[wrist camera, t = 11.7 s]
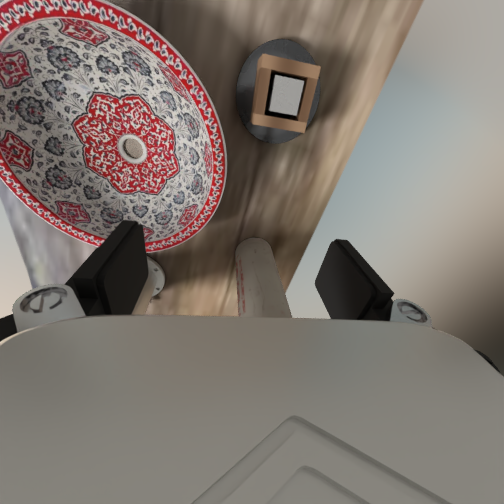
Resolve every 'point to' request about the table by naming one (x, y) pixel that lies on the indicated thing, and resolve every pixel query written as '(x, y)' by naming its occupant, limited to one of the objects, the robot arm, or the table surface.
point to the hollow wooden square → (291, 70)
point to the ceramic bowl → (105, 123)
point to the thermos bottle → (259, 281)
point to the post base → (250, 84)
